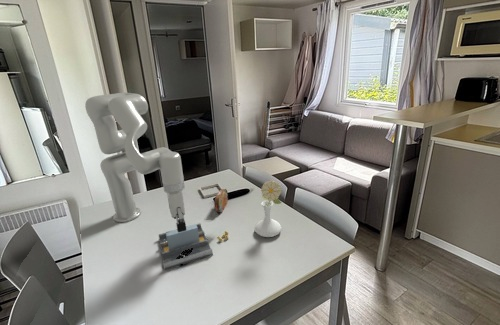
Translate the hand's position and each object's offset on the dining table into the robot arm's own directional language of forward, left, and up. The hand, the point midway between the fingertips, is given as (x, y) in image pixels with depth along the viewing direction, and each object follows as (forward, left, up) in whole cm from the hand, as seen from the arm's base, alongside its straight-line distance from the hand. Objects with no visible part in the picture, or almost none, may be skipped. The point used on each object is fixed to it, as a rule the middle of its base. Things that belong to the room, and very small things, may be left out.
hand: (180, 224), depth 104 cm
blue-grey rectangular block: (0, 0, -10) cm, 10 cm away
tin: (-22, +23, -11) cm, 34 cm away
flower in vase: (+8, +35, -11) cm, 38 cm away
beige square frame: (-42, +23, -11) cm, 50 cm away
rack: (+1, 0, -11) cm, 11 cm away
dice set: (+2, +16, -12) cm, 20 cm away
